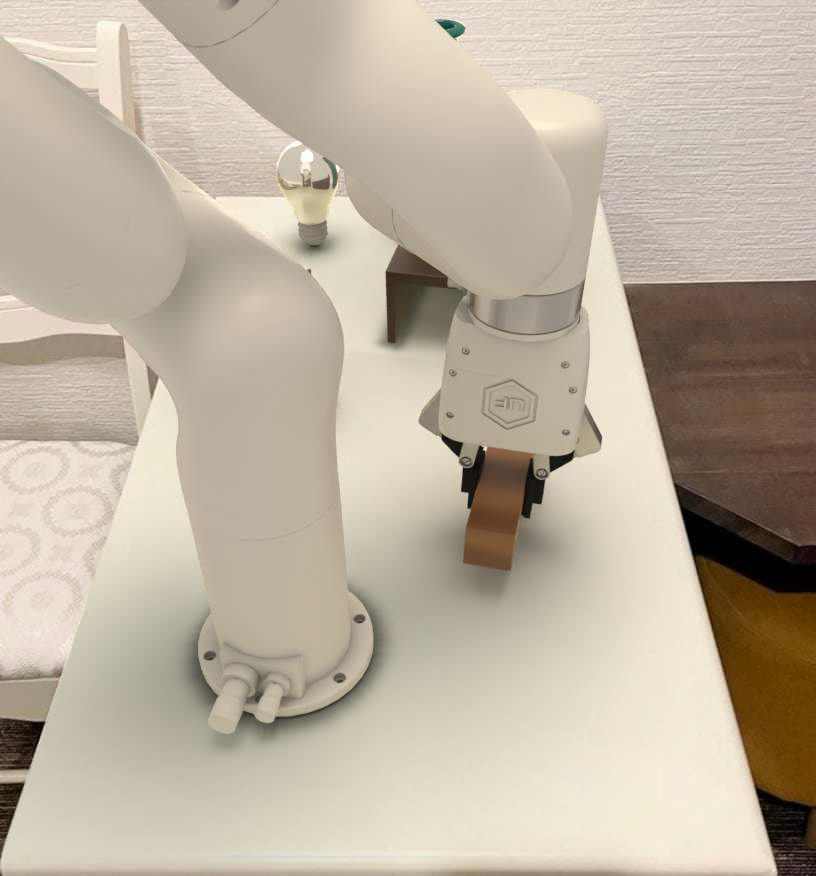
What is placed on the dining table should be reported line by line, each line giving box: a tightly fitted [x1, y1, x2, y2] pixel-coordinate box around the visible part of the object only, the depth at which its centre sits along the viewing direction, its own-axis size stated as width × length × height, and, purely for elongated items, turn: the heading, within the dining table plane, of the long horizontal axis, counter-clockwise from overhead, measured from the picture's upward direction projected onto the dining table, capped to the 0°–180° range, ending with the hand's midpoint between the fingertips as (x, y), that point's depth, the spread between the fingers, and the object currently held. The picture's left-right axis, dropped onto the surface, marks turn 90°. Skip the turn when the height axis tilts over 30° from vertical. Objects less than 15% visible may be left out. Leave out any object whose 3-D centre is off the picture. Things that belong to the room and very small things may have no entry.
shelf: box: [385, 244, 458, 344], centre depth 102 cm, size 18×12×10 cm, turn 168°
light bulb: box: [276, 140, 341, 248], centre depth 110 cm, size 7×7×12 cm
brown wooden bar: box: [462, 446, 533, 572], centre depth 77 cm, size 14×4×4 cm, turn 168°
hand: (501, 500), depth 78 cm, fingers closed on brown wooden bar, 3 cm apart
